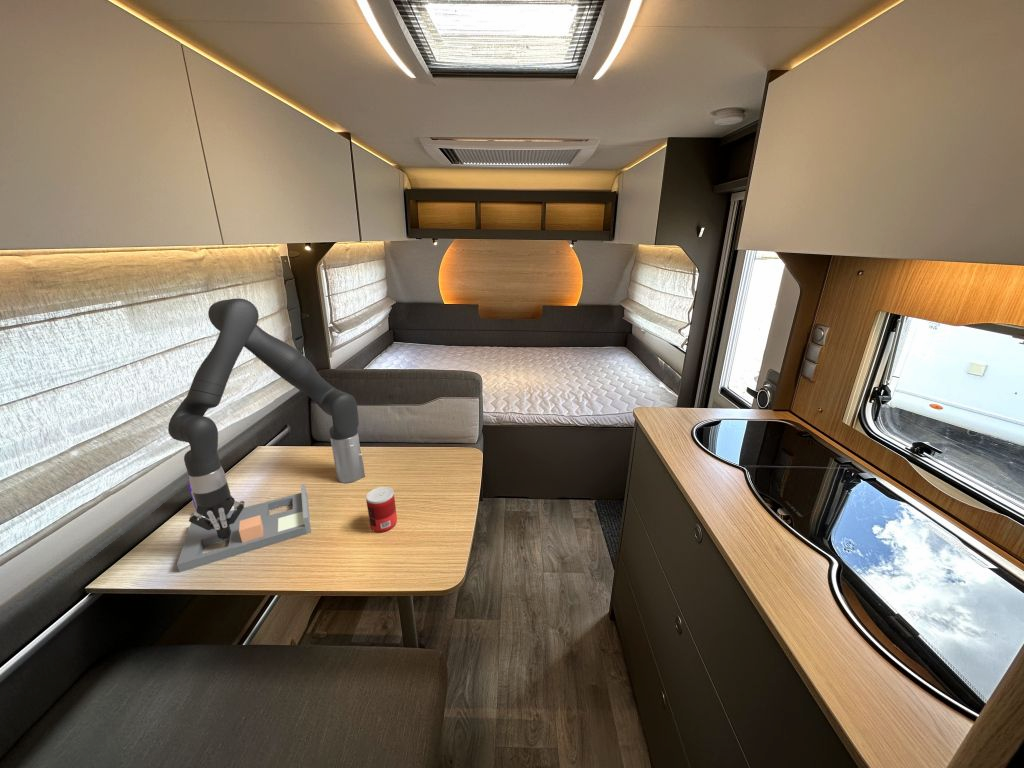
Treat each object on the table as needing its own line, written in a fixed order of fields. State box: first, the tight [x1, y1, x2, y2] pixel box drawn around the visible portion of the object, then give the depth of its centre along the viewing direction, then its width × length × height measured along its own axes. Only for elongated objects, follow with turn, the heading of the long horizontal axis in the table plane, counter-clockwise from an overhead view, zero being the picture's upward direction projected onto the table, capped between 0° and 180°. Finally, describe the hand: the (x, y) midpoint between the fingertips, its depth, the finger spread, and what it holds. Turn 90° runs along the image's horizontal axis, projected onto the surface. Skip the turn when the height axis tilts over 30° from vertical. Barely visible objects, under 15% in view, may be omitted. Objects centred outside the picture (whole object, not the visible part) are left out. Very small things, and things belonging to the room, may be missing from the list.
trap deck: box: [176, 483, 312, 573], centre depth 118 cm, size 31×20×6 cm, turn 119°
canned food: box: [365, 486, 398, 534], centre depth 119 cm, size 8×8×11 cm
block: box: [239, 515, 263, 543], centre depth 113 cm, size 5×5×4 cm
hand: (225, 537), depth 112 cm, fingers closed
